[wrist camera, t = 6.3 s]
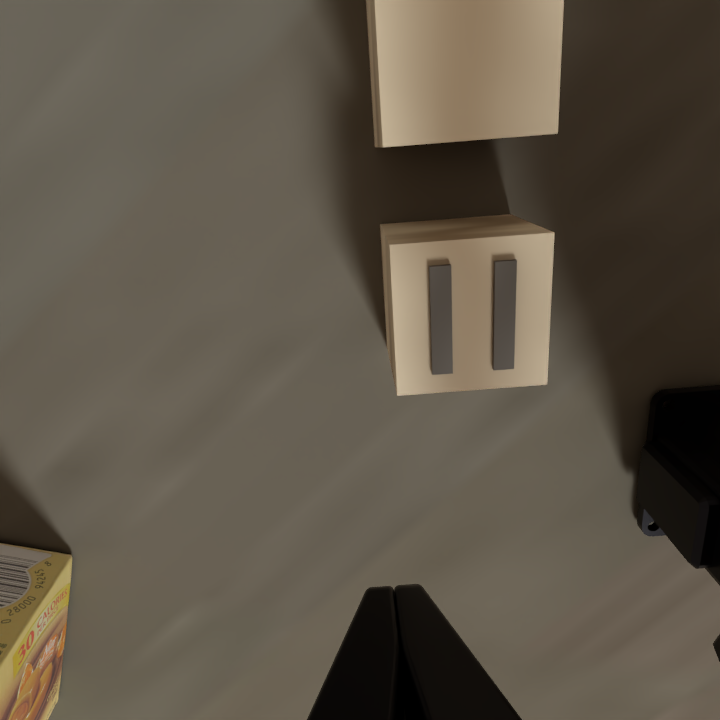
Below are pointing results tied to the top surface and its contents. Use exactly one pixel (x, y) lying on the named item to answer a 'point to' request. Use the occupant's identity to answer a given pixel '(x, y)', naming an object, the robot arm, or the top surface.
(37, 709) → the candy box
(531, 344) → the two mark block
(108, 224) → the top surface
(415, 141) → the plain block
